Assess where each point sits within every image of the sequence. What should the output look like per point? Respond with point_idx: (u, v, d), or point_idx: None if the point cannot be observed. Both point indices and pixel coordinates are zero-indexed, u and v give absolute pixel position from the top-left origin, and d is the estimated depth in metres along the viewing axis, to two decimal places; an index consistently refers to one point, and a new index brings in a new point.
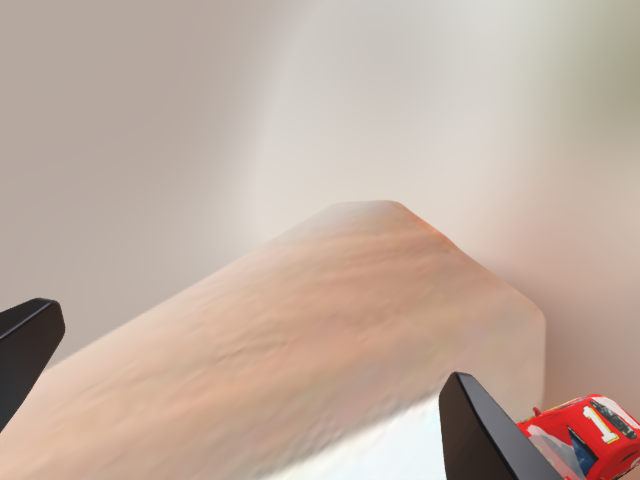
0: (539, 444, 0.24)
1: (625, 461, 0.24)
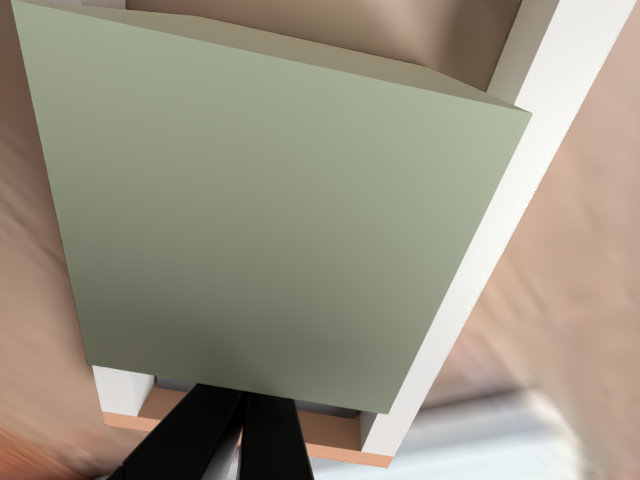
0: None
1: None
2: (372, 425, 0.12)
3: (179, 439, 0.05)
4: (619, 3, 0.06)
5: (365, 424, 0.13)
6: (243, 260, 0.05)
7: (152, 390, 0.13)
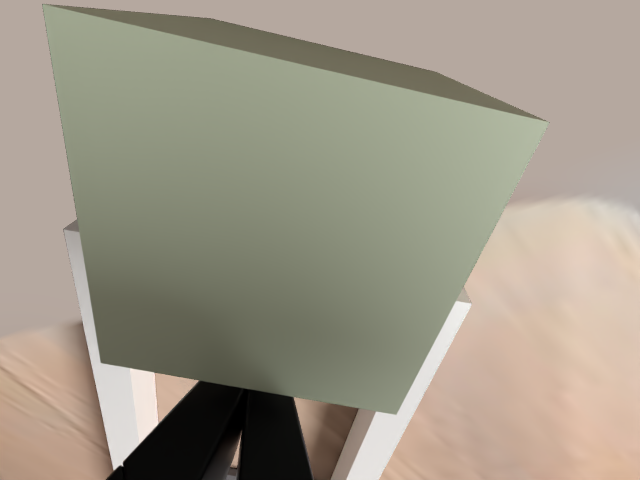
0: None
1: None
2: None
3: (179, 439, 0.05)
4: (413, 399, 0.11)
5: None
6: (260, 261, 0.05)
7: None
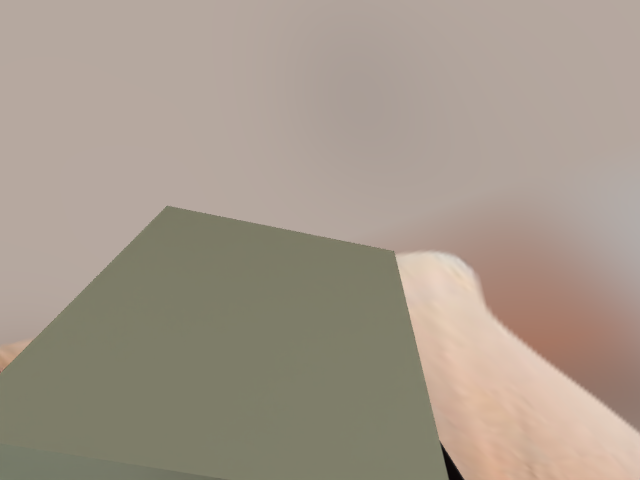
0: None
1: None
2: None
3: None
4: None
5: None
6: None
7: None
